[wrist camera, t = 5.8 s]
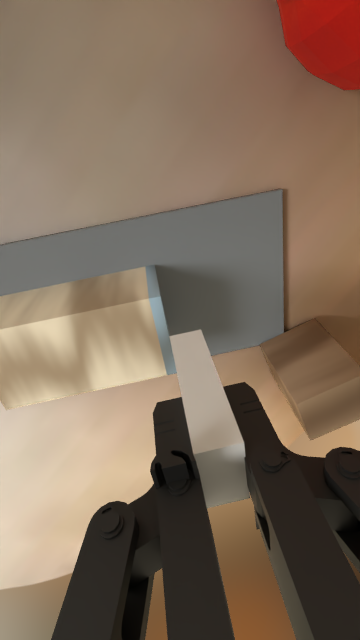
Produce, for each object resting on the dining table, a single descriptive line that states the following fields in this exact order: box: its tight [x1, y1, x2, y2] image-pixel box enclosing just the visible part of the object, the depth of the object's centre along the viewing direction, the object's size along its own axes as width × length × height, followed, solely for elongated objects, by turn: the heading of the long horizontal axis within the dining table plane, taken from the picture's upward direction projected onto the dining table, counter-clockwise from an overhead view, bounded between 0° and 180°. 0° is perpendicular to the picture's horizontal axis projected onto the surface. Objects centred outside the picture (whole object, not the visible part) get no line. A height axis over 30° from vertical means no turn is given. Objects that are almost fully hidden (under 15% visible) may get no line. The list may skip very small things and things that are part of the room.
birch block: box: [0, 265, 177, 410], centre depth 20 cm, size 5×5×10 cm
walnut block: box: [260, 318, 360, 440], centre depth 23 cm, size 4×4×6 cm
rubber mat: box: [0, 189, 284, 356], centre depth 22 cm, size 11×19×1 cm, turn 99°
